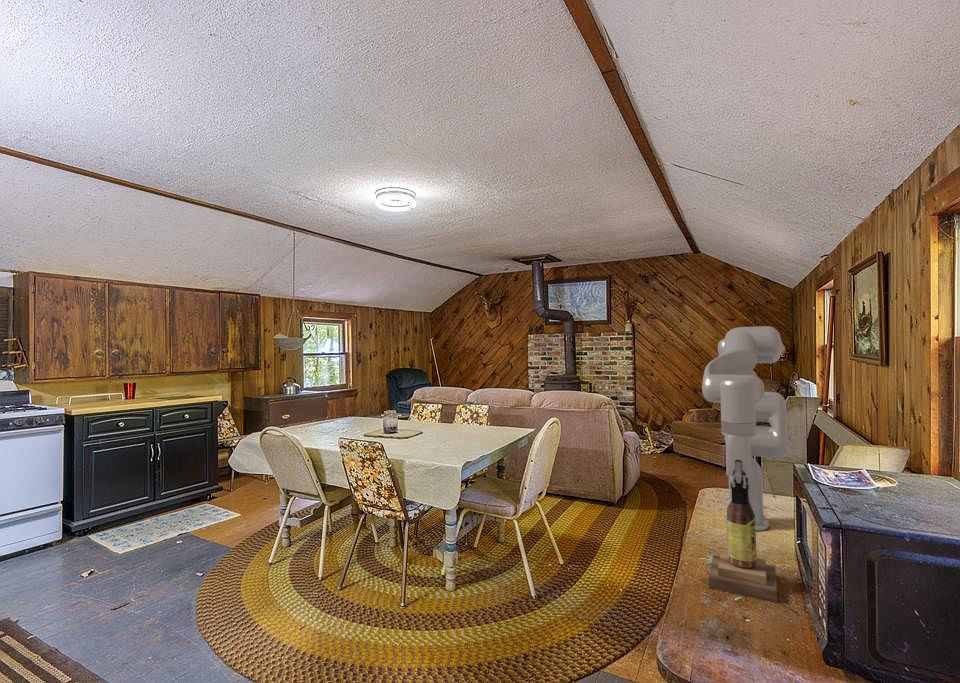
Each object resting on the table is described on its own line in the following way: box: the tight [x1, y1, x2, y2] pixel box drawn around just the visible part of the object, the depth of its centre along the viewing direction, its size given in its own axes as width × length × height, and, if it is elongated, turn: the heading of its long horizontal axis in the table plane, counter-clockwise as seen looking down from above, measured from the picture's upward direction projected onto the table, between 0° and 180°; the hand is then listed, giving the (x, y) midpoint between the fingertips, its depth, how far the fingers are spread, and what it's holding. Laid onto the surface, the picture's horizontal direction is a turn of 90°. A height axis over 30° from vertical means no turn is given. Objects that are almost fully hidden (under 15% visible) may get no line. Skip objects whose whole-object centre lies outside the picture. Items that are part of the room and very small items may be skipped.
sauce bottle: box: [726, 481, 758, 568], centre depth 119 cm, size 7×6×20 cm
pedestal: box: [708, 551, 778, 603], centre depth 119 cm, size 14×14×4 cm
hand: (740, 497), depth 119 cm, fingers open, 9 cm apart
